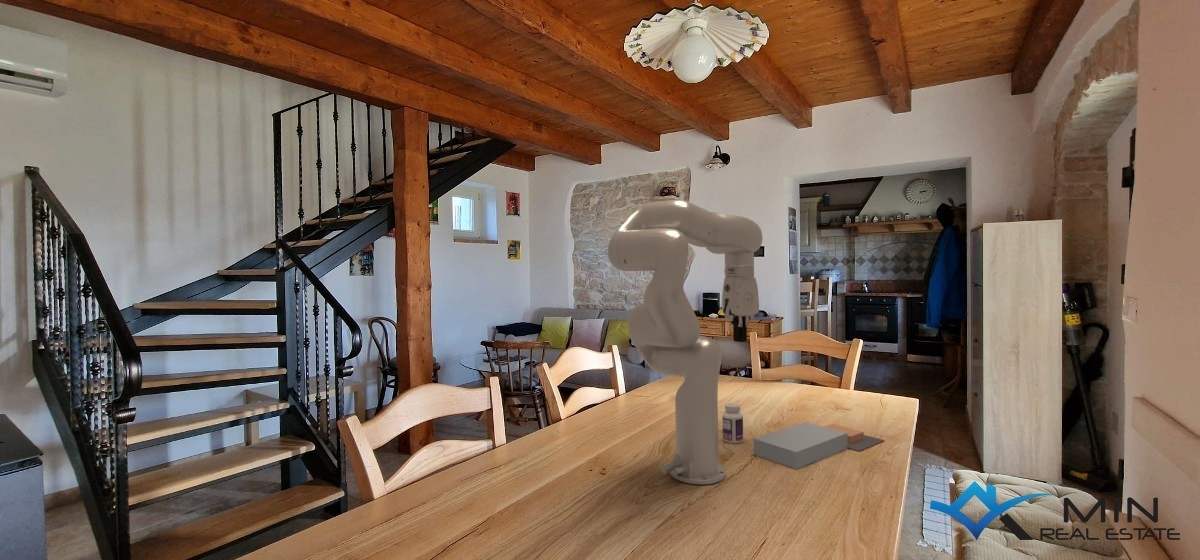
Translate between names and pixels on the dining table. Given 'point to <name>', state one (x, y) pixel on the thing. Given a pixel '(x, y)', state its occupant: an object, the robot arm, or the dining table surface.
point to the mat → (864, 443)
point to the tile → (848, 433)
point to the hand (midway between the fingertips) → (740, 341)
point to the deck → (800, 444)
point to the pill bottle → (732, 424)
